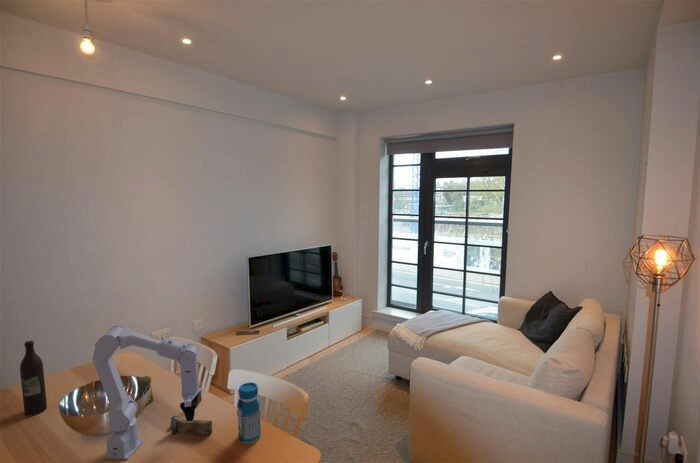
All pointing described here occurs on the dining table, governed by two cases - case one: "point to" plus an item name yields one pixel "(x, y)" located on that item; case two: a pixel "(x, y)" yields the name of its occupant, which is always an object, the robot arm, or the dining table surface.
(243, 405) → the beverage bottle
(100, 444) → the dining table surface
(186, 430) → the handle
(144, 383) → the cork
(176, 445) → the dining table surface
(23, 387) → the wine bottle
